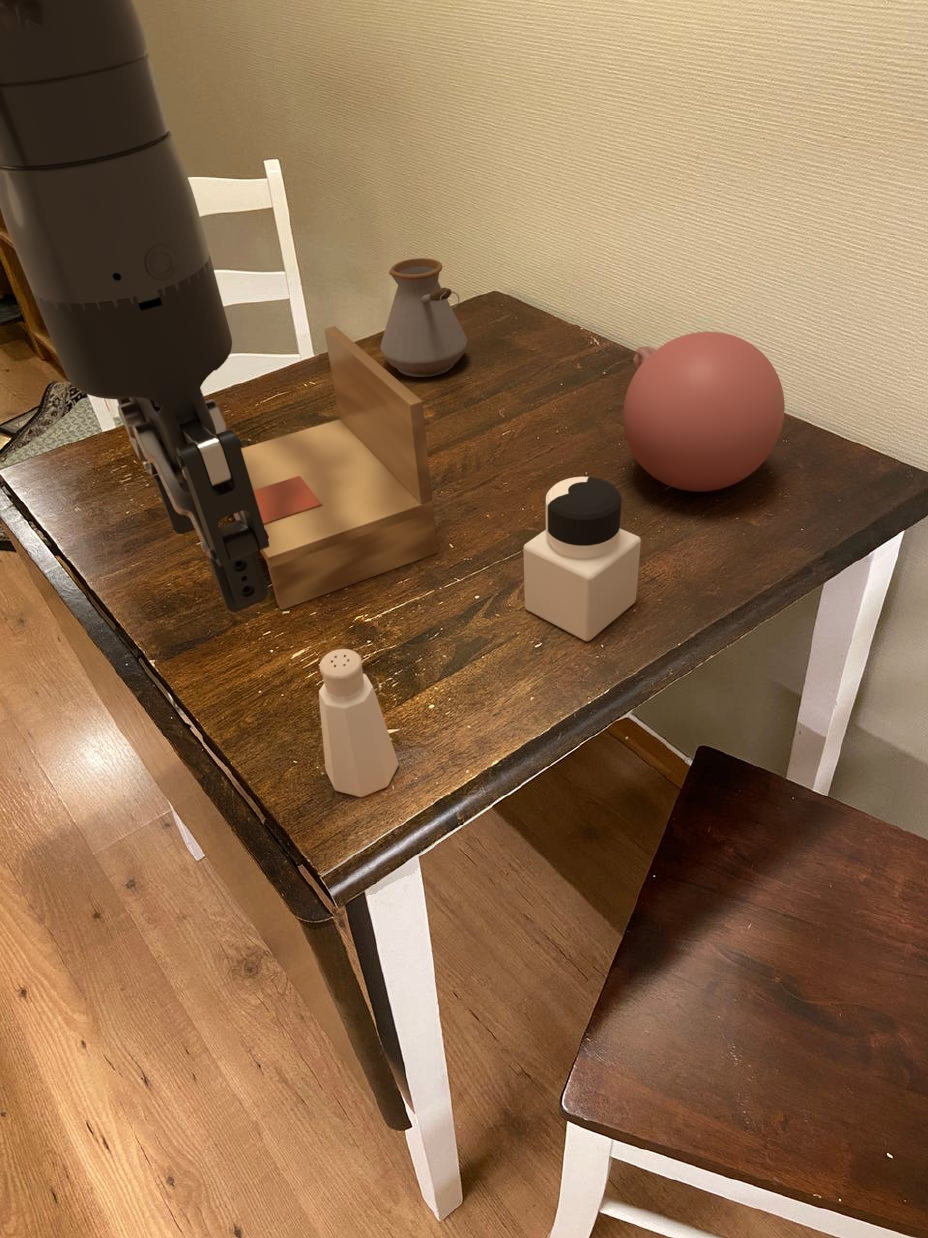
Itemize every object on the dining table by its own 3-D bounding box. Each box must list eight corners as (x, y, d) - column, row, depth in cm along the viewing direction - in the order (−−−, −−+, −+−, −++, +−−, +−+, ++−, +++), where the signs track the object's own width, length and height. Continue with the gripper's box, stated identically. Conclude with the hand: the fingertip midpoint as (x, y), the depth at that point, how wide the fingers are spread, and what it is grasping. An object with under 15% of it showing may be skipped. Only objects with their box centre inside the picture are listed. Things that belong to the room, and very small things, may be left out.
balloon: (705, 414, 103) (722, 281, 93) (800, 503, 88) (832, 356, 78) (581, 439, 100) (585, 305, 90) (657, 534, 85) (671, 386, 75)
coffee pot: (374, 355, 121) (359, 242, 111) (454, 340, 123) (447, 228, 113) (412, 424, 105) (399, 300, 95) (503, 406, 107) (499, 282, 98)
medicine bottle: (637, 602, 78) (647, 485, 70) (587, 644, 74) (592, 526, 66) (573, 571, 82) (575, 458, 74) (523, 609, 78) (520, 494, 70)
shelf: (281, 610, 80) (241, 455, 70) (219, 508, 94) (178, 366, 83) (437, 553, 85) (422, 400, 75) (357, 464, 99) (334, 325, 89)
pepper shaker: (399, 738, 67) (381, 630, 60) (399, 795, 63) (380, 686, 56) (328, 744, 67) (302, 637, 60) (323, 801, 63) (295, 693, 56)
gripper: (-2, 243, 41) (116, 528, 52) (70, 339, 31) (196, 664, 42) (154, 205, 44) (236, 484, 54) (264, 283, 34) (337, 602, 45)
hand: (218, 562), depth 48 cm, fingers open, 8 cm apart
